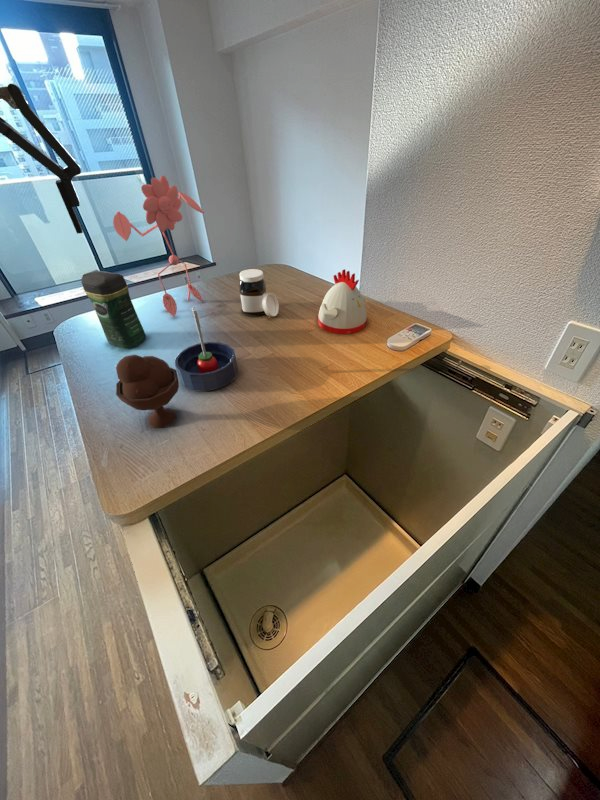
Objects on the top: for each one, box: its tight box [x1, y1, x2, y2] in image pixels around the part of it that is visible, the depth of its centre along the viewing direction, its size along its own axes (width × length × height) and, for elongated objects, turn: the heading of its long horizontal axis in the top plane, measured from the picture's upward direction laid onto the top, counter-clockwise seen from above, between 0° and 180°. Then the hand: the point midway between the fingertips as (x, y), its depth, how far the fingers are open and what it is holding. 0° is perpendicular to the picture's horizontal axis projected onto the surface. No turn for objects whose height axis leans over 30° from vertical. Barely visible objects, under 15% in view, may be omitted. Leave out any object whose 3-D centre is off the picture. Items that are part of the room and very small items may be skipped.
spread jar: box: [238, 268, 280, 318], centre depth 97 cm, size 12×11×12 cm
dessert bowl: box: [174, 341, 239, 392], centre depth 75 cm, size 13×13×5 cm
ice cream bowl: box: [115, 354, 180, 429], centre depth 61 cm, size 11×11×15 cm
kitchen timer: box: [317, 268, 368, 335], centre depth 90 cm, size 14×14×15 cm
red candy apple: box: [191, 306, 219, 373], centre depth 71 cm, size 5×5×16 cm
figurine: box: [112, 174, 218, 320], centre depth 91 cm, size 15×26×35 cm, turn 147°
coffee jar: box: [80, 269, 147, 349], centre depth 83 cm, size 10×8×19 cm
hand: (28, 237), depth 48 cm, fingers open, 13 cm apart
